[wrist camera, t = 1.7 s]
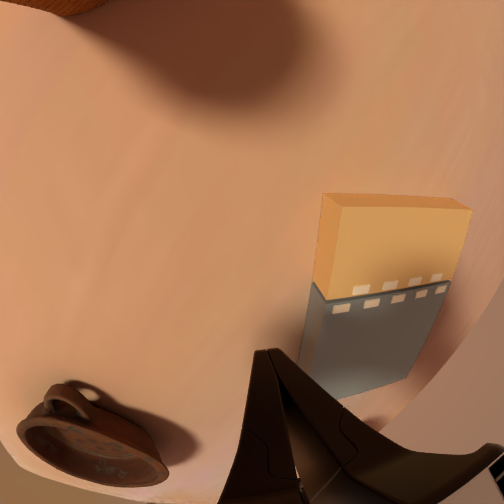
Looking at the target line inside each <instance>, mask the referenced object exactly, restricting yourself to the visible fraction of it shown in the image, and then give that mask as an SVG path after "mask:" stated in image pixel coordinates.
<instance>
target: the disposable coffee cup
mask: <svg viewBox="0 0 504 504" xmlns="http://www.w3.org/2000/svg"><path fill="white" fill-rule="evenodd" d="M0 1H1V0H0ZM2 1H4V2H9V3H15V4H16V3H17V5H23V6H28V7H32V8H36V9H40V10H44V11H47V12H51V13H53V14H56V15H62V16H69V15H76V14H80V13H83V12H86V11H89V10H91V9H93V8H95V7H98V6H100V5H101V4H103V3H105V2H106V1H108V0H2Z"/></svg>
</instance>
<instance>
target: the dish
mask: <svg viewBox="0 0 504 504" xmlns="http://www.w3.org/2000/svg"><path fill="white" fill-rule="evenodd" d="M16 431H17V435H18V437H19V438H20V440H21V441H22V443H23V444H24V445H25V446H26V447H27V448H28V449H29V450H30V451H31V452H32V453H34V454H35V455H36V456H37V457H39V458H40V459H42V460H43V461H45V462H46V463H48V464H50V465H51V466H53V467H55V468H56V469H58V470H60V471H62V472H64V473H67V474H69V475H72V476H75V477H77V478H81V479H84V480H87V481H91V482H94V483H98V484H101V485H106V486H113V487H130V488H134V487H147V486H153V485H157V484H159V483H162V482H163V481H165V480H166V479H167V478H168V476H169V471H168V469H167V467H166V466H165V465H164V464H163V463H162V461H161V458H160V455H159V453H158V450H157V448H156V446H155V444H154V442H153V441H152V439H151V438H150V436H149V435H148V434H147V433H146V432H145V431H144V430H142V429H141V428H140V427H138V426H136V425H134V424H133V423H131V422H129V421H127V420H125V419H124V418H121V417H119V416H117V415H115V414H112V413H110V412H108V411H105V410H102V409H99V408H97V407H94V406H92V405H91V404H90V402H89V401H88V400H87V399H86V398H85V397H84V395H82V394H81V393H80V392H79V391H77V390H76V389H74V388H72V387H70V386H68V385H65V384H55V385H52V386H51V387H50V389H49V390H48V392H47V393H46V395H45V396H44V402H42V403H40V404H39V405H37V406H36V407H35V408H34V409H33V410H32V411H31V413H30V414H29V415H28V416H27V418H26V419H25V420H22V421H21V422H20V423H19V424H18V425H17V428H16Z"/></svg>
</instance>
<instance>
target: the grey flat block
mask: <svg viewBox="0 0 504 504" xmlns="http://www.w3.org/2000/svg"><path fill="white" fill-rule="evenodd" d="M450 283H451V282H450V281H449V280H444V281H439V282H434V283H429V284H424V285H419V286H413V287H408V288H402V289H397V290H391V291H385V292H379V293H373V294H367V295H360V296H353V297H347V298H340V299H333V300H326V299H325V297H324V296H323V294H322V293H321V291H320V290H319V288H318V287H317V285H316V284H315V282H314V283H312V285H311V292H310V298H309V304H308V310H307V316H306V322H305V328H304V333H303V339H302V344H301V349H300V354H299V360H298V366H299V367H300V368H301V369H302V370H303V371H304V372H305V373H306V374H308V375H309V376H310V377H311V378H312V379H313V380H314V381H315V382H316V383H318V384H319V385H320V386H321V387H322V388H323V389H324V390H325V391H327V392H328V393H329V394H330V395H331V396H332V397H333V398H335V399H336V400H337V399H341V398H345V397H349V396H352V395H356V394H359V393H362V392H366V391H369V390H372V389H375V388H378V387H381V386H384V385H387V384H390V383H393V382H396V381H399V380H402V379H404V378H406V377H407V375H408V374H409V372H410V370H411V368H412V366H413V365H414V363H415V361H416V359H417V357H418V355H419V353H420V351H421V349H422V347H423V345H424V343H425V341H426V339H427V337H428V335H429V333H430V331H431V329H432V327H433V324H434V322H435V320H436V318H437V315H438V313H439V311H440V309H441V306H442V304H443V301H444V299H445V296H446V294H447V291H448V289H449V286H450Z"/></svg>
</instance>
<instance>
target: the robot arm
mask: <svg viewBox="0 0 504 504" xmlns="http://www.w3.org/2000/svg"><path fill="white" fill-rule="evenodd" d="M503 452H504V447H503V446H501V445H499V444H494V443H486V444H485V445H483V446H482V447H481V448H480V449H478V450H477V451H475V452H473V453H471V454H466V455H450V454H449V455H448V454H435V453H424V452H415V451H411V450H408V449H406V448H403V447H402V446H400V445H398V444H396V443H394V442H393V441H391V440H390V439H388V438H387V437H385V436H383V435H382V434H380V433H379V432H377V431H375V430H374V429H372V428H371V427H369V426H368V425H366V424H365V423H364V422H362V421H361V420H360V419H358V418H357V417H356V416H355V415H353V414H352V413H351V412H350V411H349V410H347V409H346V408H345V407H344V408H343V405H342V404H340V403H339V402H338V401H337V400H336V399H335V398H333V397H332V396H331V395H330V394H329V393H328V392H327V391H325V390H324V389H323V388H322V387H321V386H320V385H319V384H318V383H316V382H315V381H314V380H313V379H312V378H311V377H310V376H309V375H308V374H306V373H305V372H304V371H303V370H302V369H301V368H300V367H299V366H298V365H297V364H296V363H294V362H293V361H292V360H291V359H290V358H289V357H288V356H287V355H286V354H285V353H284V352H283V351H282V350H280V349H279V348H271V349H267V350H265V349H264V350H256V351H255V352H254V358H253V364H252V370H251V376H250V382H249V388H248V394H247V400H246V406H245V412H244V418H243V424H242V429H241V435H240V440H239V445H238V449H237V453H236V456H235V459H234V462H233V465H232V468H231V470H230V473H229V476H228V478H227V481H226V484H225V486H224V489H223V491H222V494H221V496H220V499H219V501H218V503H217V504H504V454H503V455H502V456H501V457H500V458H499V459H498V460H496V459H497V458H498V457H499V456H500V455H501V454H502V453H503ZM494 460H496V461H495V462H494V463H493V464H492V465H491V466H489V465H490V464H491V463H492V462H493V461H494ZM295 466H296V469H297V472H298V474H299V477H300V478H297V475H296V469H295ZM488 466H489V467H488Z"/></svg>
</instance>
